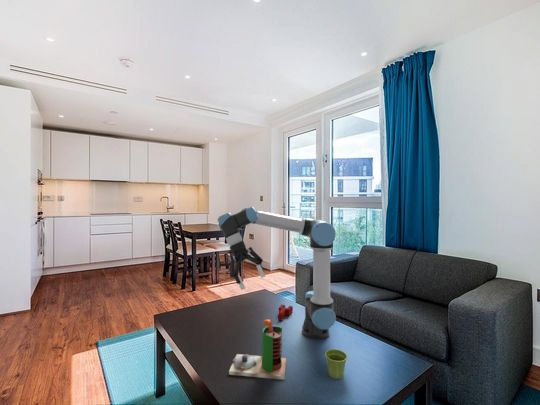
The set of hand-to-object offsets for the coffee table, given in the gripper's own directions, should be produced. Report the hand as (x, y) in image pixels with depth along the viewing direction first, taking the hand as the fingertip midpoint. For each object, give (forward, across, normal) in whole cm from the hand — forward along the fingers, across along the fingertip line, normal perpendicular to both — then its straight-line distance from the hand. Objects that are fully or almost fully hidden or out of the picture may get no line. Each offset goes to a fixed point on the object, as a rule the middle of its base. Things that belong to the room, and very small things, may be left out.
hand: (253, 282), depth 136 cm
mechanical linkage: (+34, -33, -33) cm, 57 cm away
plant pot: (+49, -6, +20) cm, 53 cm away
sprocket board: (+34, +14, -3) cm, 37 cm away
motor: (+35, +10, +1) cm, 37 cm away
